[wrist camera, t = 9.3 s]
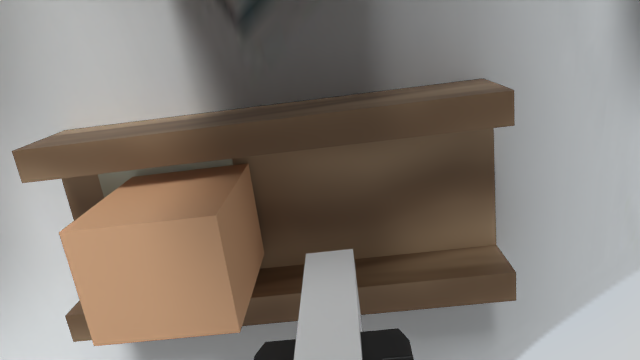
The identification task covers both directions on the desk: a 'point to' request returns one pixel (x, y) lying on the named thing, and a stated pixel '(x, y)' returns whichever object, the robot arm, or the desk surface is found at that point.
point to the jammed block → (167, 256)
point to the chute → (328, 188)
